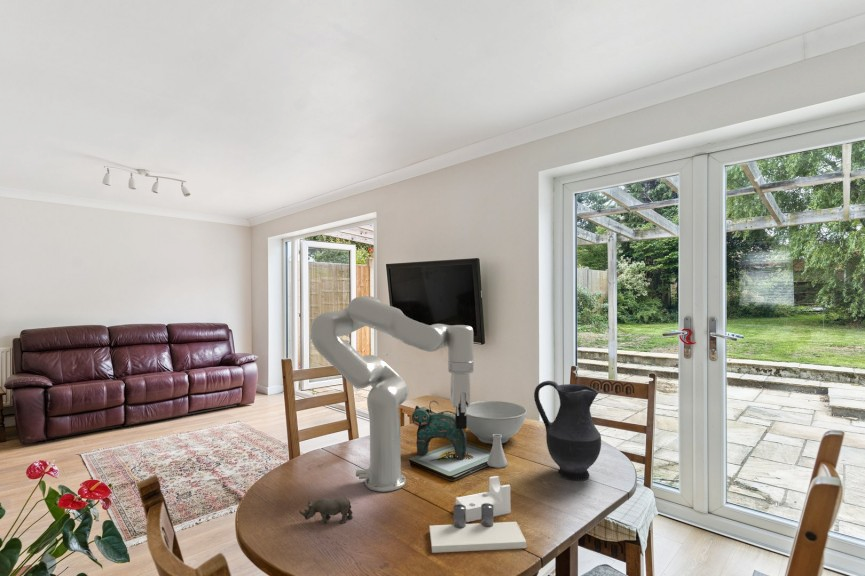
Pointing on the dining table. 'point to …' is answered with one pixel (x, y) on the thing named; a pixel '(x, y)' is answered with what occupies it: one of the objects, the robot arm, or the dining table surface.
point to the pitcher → (571, 430)
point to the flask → (497, 453)
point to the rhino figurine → (329, 509)
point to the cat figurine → (438, 430)
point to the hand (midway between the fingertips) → (460, 428)
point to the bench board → (476, 537)
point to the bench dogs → (485, 515)
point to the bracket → (487, 500)
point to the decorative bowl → (494, 419)
